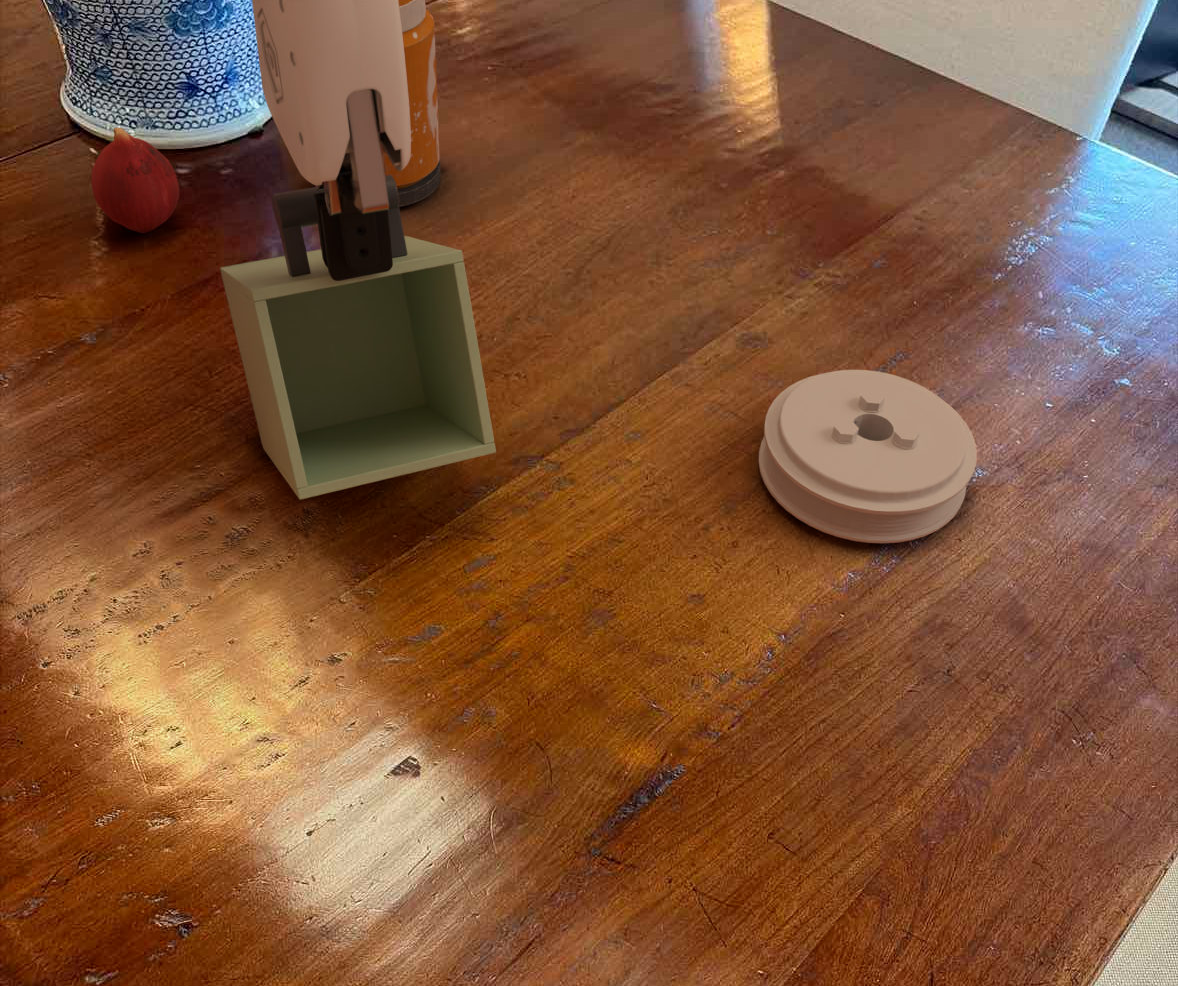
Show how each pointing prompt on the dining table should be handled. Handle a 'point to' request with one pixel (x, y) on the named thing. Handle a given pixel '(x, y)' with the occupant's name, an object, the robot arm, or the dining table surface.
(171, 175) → the onion
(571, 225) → the dining table surface
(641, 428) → the dining table surface
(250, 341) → the bin
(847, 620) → the dining table surface
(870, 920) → the dining table surface
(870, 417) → the lid
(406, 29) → the canister
